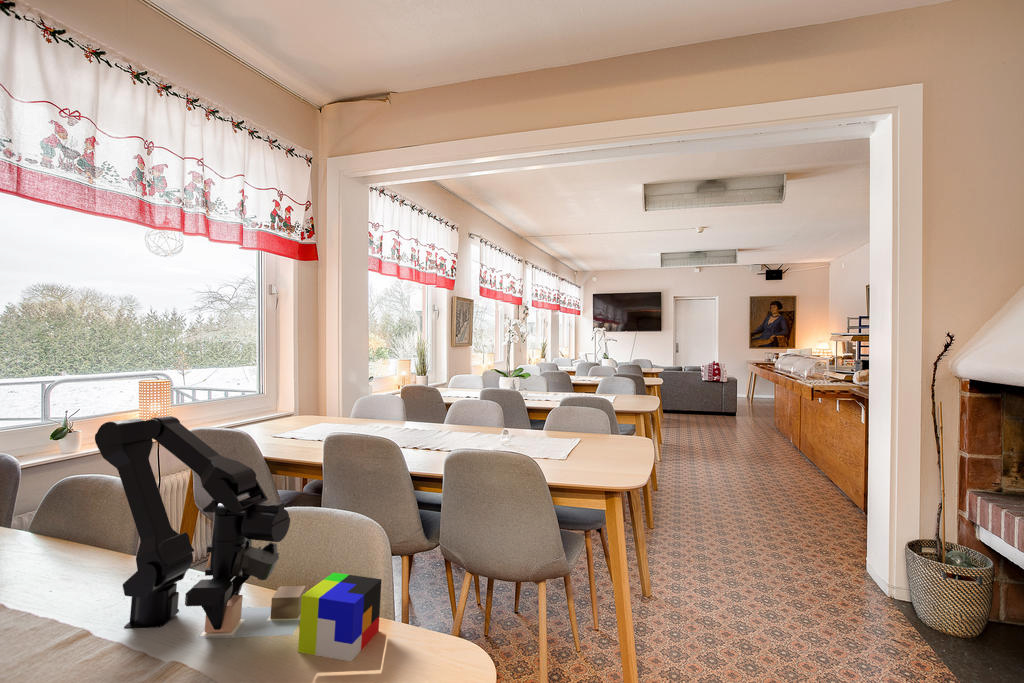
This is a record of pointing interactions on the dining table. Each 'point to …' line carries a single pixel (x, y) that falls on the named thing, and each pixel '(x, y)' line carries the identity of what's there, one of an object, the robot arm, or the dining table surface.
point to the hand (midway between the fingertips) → (223, 622)
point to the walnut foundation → (287, 602)
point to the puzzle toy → (339, 616)
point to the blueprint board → (257, 625)
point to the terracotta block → (228, 615)
